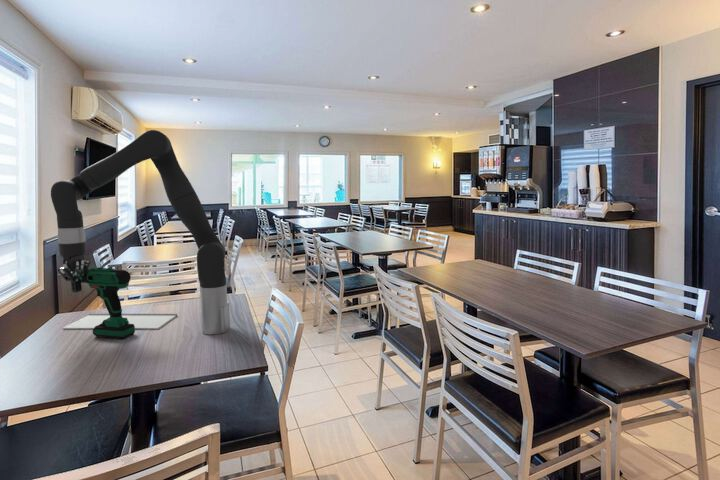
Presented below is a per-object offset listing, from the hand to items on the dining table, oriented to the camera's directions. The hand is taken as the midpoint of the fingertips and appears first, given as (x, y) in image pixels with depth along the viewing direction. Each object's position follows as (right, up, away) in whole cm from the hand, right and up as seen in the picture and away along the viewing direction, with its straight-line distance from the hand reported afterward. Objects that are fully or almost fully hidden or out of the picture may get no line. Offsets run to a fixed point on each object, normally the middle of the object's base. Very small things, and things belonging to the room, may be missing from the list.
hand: (77, 291), depth 140 cm
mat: (+2, -15, +23) cm, 28 cm away
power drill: (0, -17, +10) cm, 20 cm away
